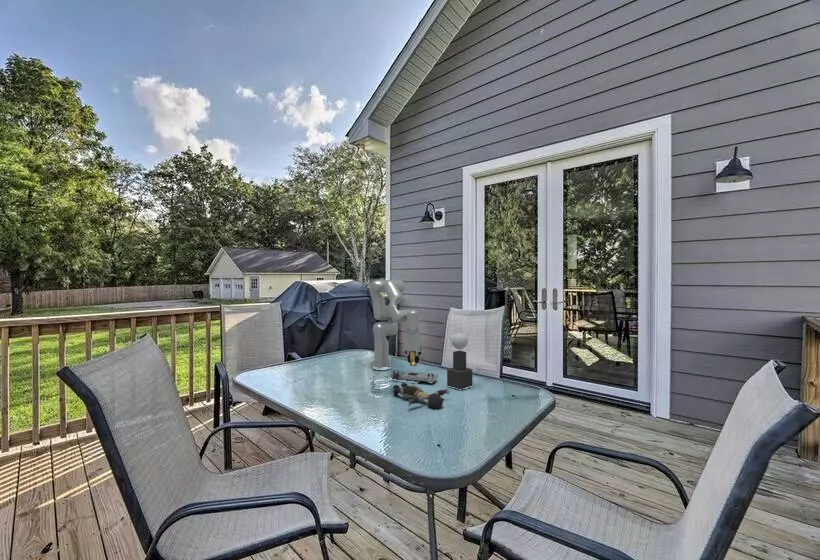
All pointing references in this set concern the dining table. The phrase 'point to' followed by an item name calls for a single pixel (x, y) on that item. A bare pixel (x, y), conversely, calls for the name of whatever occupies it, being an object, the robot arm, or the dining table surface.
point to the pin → (413, 358)
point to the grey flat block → (414, 376)
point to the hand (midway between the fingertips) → (413, 362)
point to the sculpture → (459, 365)
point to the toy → (420, 395)
